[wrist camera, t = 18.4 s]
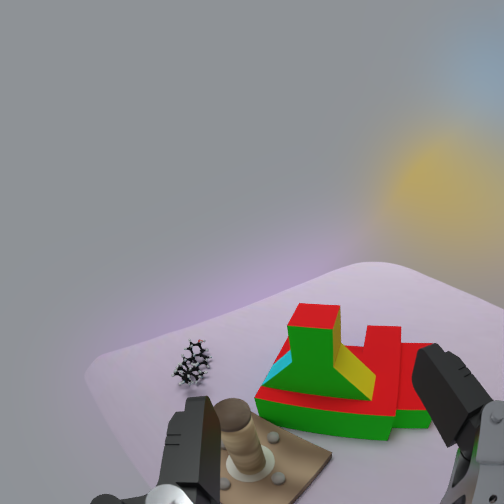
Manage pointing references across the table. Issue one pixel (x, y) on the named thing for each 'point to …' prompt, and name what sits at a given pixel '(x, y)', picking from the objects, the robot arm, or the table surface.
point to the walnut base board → (273, 468)
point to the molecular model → (195, 366)
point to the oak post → (240, 435)
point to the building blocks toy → (341, 379)
